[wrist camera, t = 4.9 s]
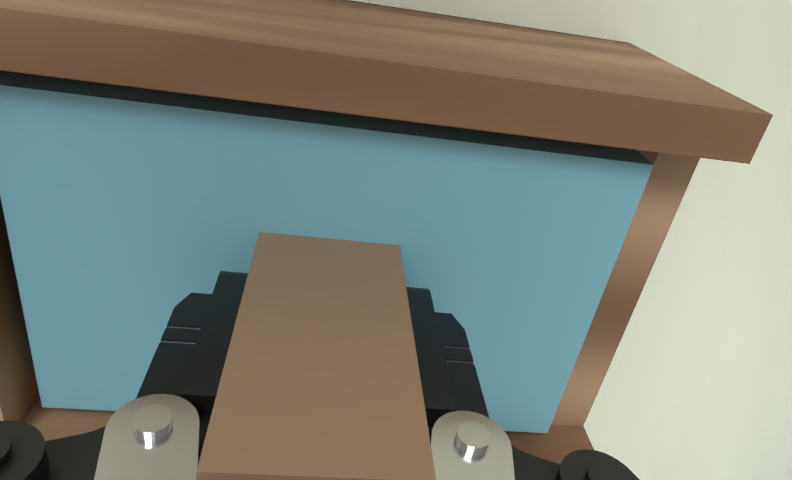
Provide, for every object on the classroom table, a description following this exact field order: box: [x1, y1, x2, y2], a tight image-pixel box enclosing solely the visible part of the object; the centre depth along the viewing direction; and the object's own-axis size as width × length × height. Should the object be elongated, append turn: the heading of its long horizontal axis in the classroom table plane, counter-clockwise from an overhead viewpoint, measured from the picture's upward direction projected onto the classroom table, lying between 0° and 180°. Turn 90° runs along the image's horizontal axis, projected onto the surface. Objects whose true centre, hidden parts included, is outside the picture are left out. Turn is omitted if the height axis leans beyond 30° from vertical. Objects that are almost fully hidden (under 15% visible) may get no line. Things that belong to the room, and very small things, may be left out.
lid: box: [0, 71, 654, 480], centre depth 11 cm, size 8×13×7 cm, turn 81°
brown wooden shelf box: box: [0, 0, 773, 464], centre depth 15 cm, size 11×16×6 cm
